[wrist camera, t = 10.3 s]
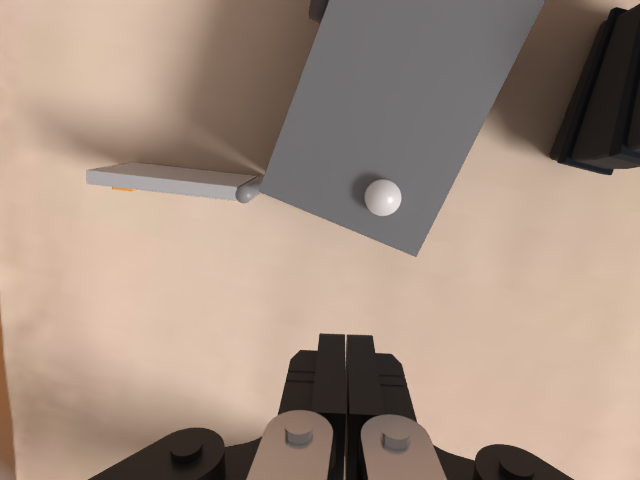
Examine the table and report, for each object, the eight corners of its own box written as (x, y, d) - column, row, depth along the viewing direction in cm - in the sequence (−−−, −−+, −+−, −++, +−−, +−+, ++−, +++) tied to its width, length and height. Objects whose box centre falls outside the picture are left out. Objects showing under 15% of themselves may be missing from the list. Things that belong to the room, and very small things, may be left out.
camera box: (401, 230, 37) (418, 260, 28) (259, 170, 36) (233, 184, 28) (501, 23, 32) (556, -14, 24) (340, -49, 32) (338, -114, 23)
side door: (269, 176, 36) (252, 187, 29) (268, 195, 37) (250, 210, 30) (133, 161, 36) (85, 168, 30) (134, 180, 37) (87, 192, 30)
